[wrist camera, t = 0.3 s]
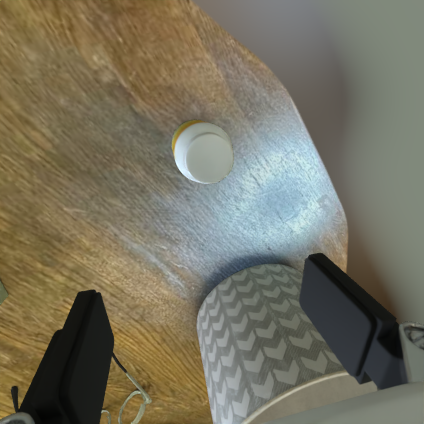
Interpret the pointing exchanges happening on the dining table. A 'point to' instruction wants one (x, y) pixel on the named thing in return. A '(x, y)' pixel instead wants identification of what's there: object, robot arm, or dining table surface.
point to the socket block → (2, 293)
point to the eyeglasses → (144, 395)
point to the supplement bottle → (202, 151)
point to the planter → (266, 350)
